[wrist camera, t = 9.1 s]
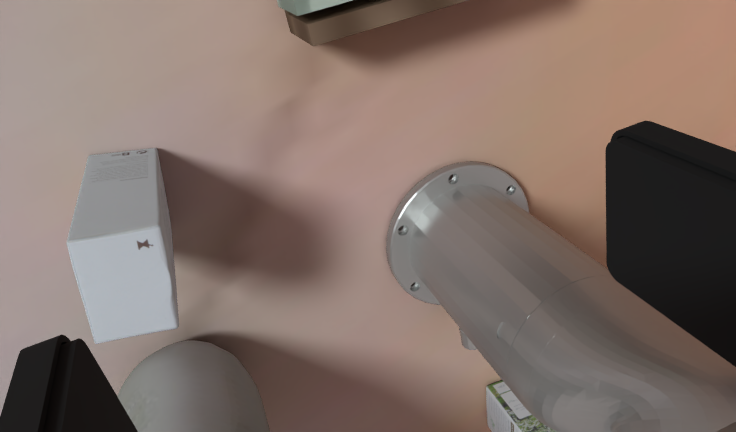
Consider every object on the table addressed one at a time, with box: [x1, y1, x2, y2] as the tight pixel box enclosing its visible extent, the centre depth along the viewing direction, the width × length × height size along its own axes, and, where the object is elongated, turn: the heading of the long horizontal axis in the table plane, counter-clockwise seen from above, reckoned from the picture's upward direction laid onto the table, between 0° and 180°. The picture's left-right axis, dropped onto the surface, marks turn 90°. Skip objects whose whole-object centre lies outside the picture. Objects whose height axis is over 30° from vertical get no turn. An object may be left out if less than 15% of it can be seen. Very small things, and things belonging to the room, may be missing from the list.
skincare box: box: [67, 148, 179, 344], centre depth 33 cm, size 6×4×12 cm
